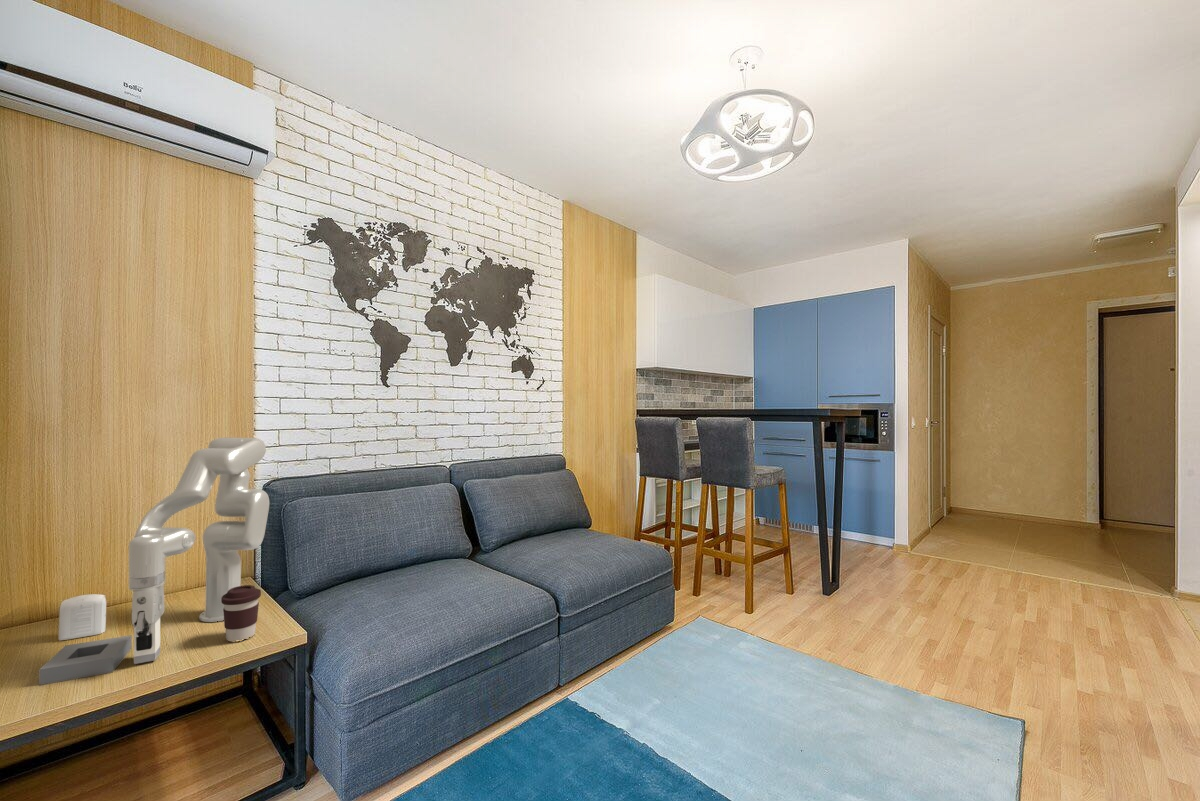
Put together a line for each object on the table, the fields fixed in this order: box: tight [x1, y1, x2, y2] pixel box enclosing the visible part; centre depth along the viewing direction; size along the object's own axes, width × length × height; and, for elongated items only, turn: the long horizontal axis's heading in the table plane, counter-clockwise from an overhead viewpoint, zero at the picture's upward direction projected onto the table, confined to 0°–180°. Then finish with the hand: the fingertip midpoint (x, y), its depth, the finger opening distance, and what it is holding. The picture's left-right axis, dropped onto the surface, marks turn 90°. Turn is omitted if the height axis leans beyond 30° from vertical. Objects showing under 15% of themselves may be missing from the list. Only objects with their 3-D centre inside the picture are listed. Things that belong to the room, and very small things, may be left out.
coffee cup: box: [221, 584, 262, 642], centre depth 155 cm, size 10×10×15 cm
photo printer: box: [58, 593, 107, 641], centre depth 155 cm, size 10×4×12 cm, turn 123°
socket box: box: [38, 635, 133, 686], centre depth 138 cm, size 14×14×4 cm
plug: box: [133, 617, 161, 665], centre depth 141 cm, size 4×4×12 cm
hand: (147, 644), depth 141 cm, fingers closed on plug, 4 cm apart
